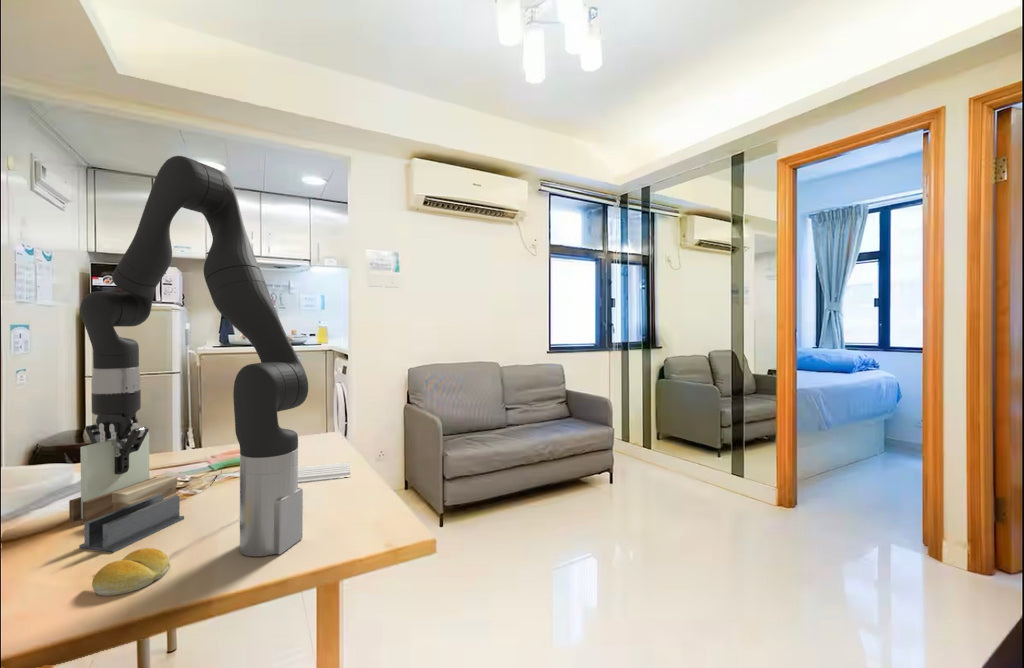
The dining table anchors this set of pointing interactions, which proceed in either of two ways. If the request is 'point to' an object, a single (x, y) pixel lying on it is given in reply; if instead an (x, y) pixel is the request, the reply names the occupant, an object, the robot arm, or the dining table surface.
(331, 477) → the baseboard molding
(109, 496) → the walnut rack
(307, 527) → the dining table surface
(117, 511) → the grey stand
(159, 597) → the dining table surface
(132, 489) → the tan piece
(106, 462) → the sage panel
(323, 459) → the dining table surface
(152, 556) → the bread roll
